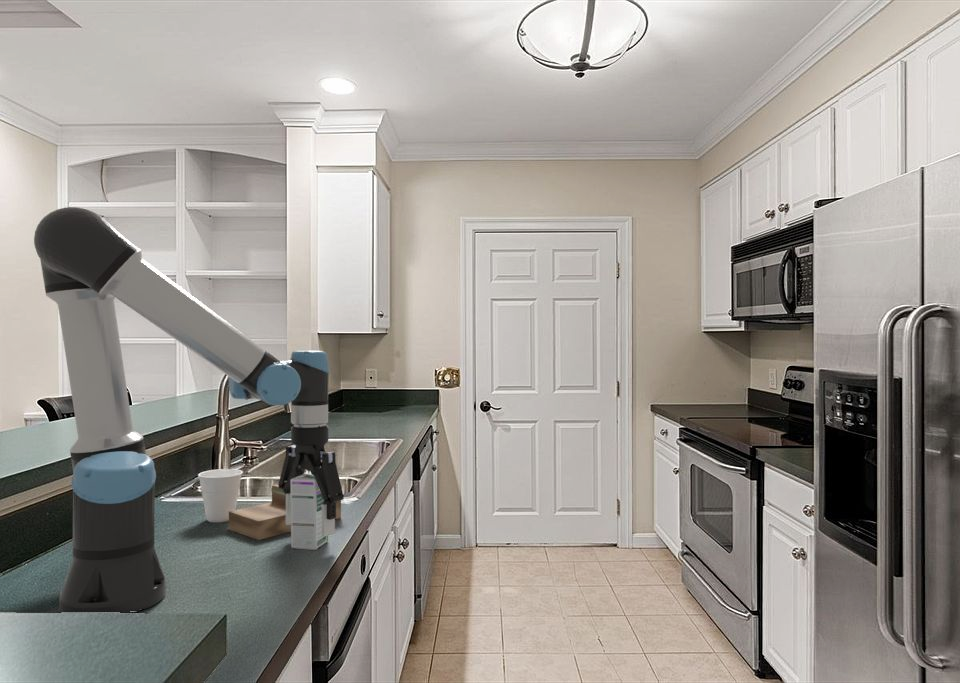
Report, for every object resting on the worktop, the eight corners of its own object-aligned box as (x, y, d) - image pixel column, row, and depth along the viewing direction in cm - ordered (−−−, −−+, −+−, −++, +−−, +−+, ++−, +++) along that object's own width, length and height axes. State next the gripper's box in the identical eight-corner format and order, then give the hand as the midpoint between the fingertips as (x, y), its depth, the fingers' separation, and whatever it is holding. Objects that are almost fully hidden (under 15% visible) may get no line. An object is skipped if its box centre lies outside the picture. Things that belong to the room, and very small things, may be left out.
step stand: (260, 540, 138) (260, 503, 138) (228, 529, 146) (228, 493, 146) (343, 518, 155) (343, 485, 155) (310, 509, 163) (310, 477, 163)
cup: (191, 518, 154) (191, 472, 154) (233, 511, 161) (233, 467, 161) (206, 527, 147) (206, 479, 147) (249, 520, 154) (249, 473, 154)
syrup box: (316, 550, 132) (316, 479, 132) (289, 548, 133) (290, 477, 133) (328, 541, 138) (328, 473, 137) (302, 540, 139) (303, 472, 139)
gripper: (361, 428, 131) (361, 535, 131) (291, 418, 146) (291, 514, 146) (331, 432, 125) (331, 545, 125) (261, 421, 140) (261, 522, 140)
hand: (309, 528), depth 135 cm, fingers open, 12 cm apart
